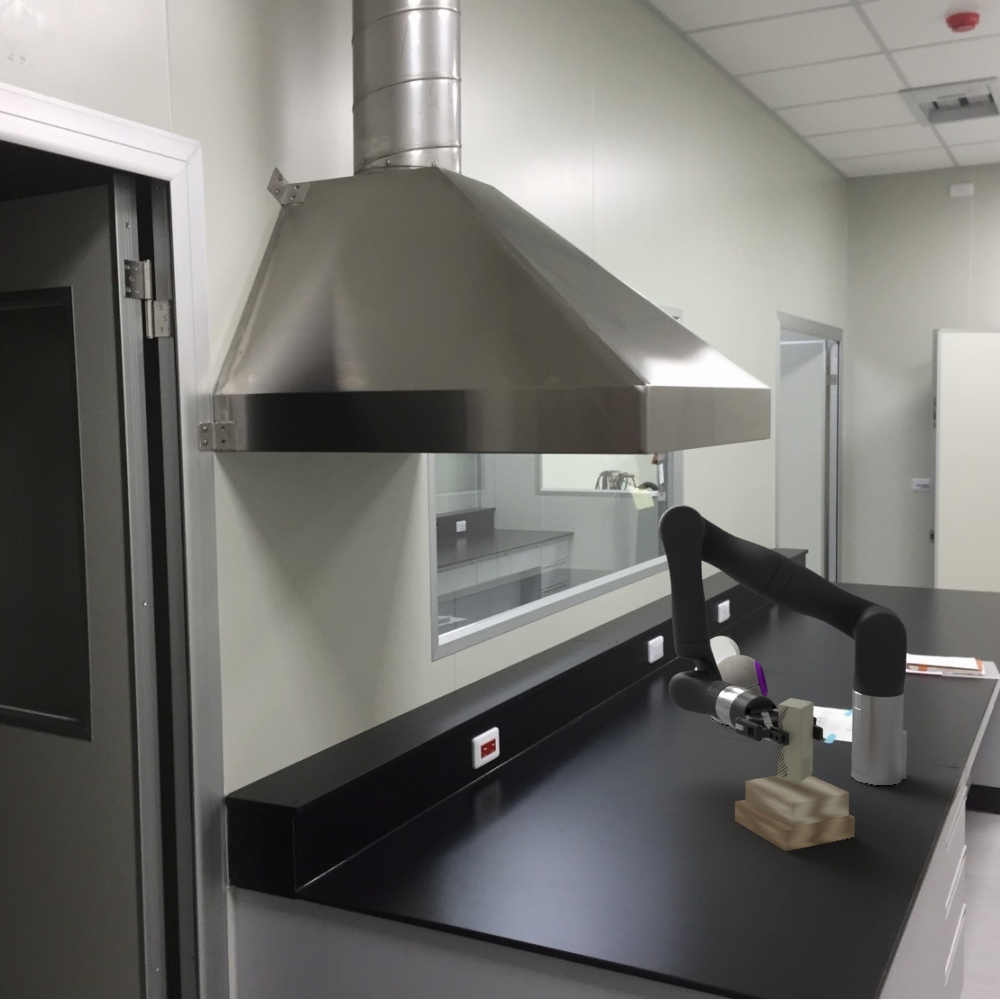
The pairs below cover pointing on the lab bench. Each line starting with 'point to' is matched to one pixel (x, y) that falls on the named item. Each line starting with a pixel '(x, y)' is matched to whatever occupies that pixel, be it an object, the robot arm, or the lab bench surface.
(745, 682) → the shader ball
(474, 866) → the lab bench surface
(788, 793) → the top slab
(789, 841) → the bottom slab
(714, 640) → the tape dispenser
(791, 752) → the box
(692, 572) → the robot arm
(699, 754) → the lab bench surface
